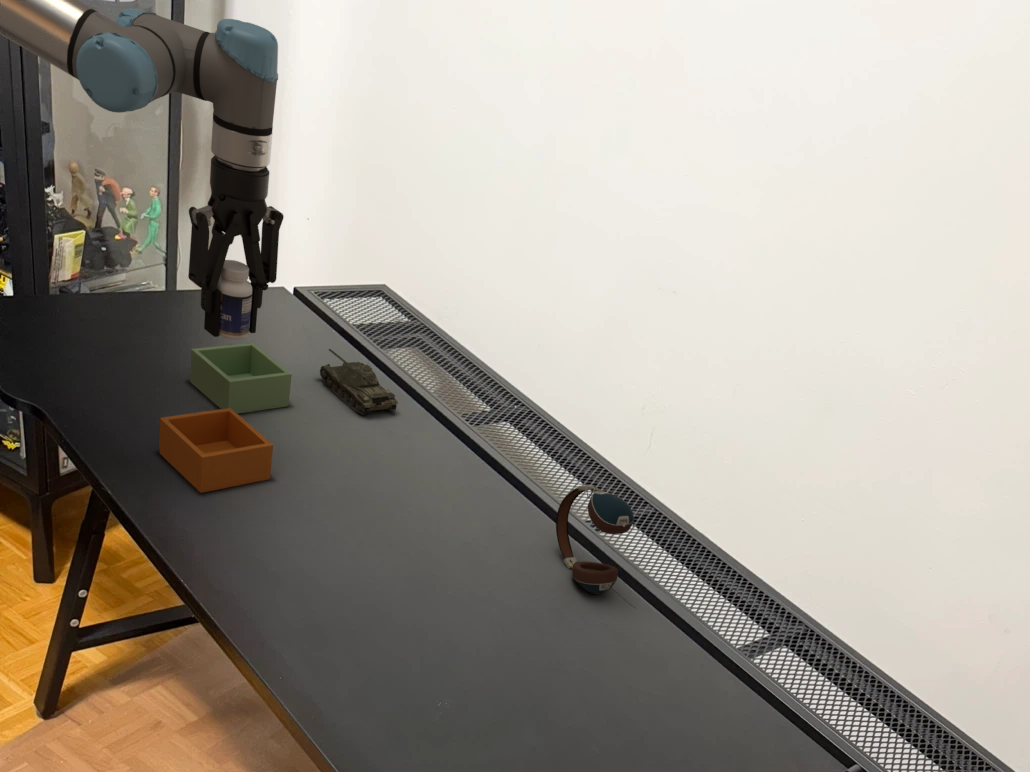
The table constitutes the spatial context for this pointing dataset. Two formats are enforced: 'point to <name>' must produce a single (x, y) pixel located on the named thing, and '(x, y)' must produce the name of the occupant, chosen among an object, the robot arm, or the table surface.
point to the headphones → (608, 518)
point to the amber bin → (215, 449)
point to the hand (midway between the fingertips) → (230, 330)
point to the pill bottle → (235, 300)
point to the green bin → (240, 377)
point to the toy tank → (357, 386)
